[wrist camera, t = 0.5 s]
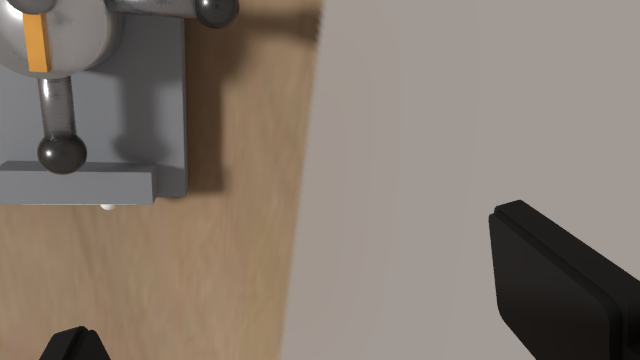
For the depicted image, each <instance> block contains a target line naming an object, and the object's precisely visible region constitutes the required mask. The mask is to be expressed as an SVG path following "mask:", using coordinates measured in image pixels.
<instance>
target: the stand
mask: <svg viewBox="0 0 640 360" xmlns="http://www.w3.org/2000/svg"><path fill="white" fill-rule="evenodd" d="M124 15H125V27H124V33H123V36H122V39H121V42H120V44H119V46H118V47H117V49H116V50H115V51H114V53H113V54H112V55H111V56H110V57H109V58H107V59H106V60H105V61H103V62H101V63H100V64H97V65H95V66H93V67H90V68H88V69H85V70H83V71H80V72H77V73H75V74H72V75H71V83H72V92H73V102H74V112H75V121H76V131H77V135H78V136H79V137H80V138H81V139H82V140H83V141H84V143H85V145H86V148H87V159H86V162H85V163H84V165H83V166H82V167H81V168H80V169H79V170H78V171H76V172H74V173H71V174H67V175H58V174H54V173H52V172H50V171H48V170H46V169H45V168H44V167H43V166H42V165H41V163H40V162H39V160H38V156H37V148H38V145H39V143H40V141H41V140H42V138H43V137H44V131H43V123H42V115H41V107H40V99H39V91H38V84H37V79H36V78H32V77H27V76H24V75H21V74H18V73H16V72H14V71H12V70H10V69H8V68H6V67H5V66H3V65H1V64H0V204H51V205H101V207H102V208H103V209H106V210H112V209H114V208H115V207H116V206H117V205H153V203H154V201H155V198H156V197H185V196H186V193H187V189H188V148H187V107H186V65H185V24H184V18H175V17H161V16H146V15H132V14H124Z"/></svg>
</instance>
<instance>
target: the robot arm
mask: <svg viewBox="0 0 640 360" xmlns="http://www.w3.org/2000/svg"><path fill="white" fill-rule="evenodd" d="M489 229H490V238H491V248H492V258H493V267H494V277H495V286H496V296H497V305H498V310H499V313H500V315H501V317H502V319H503V320H504V322H505V323H506V324H507V325H508V327H509V328H510V329H511V330H512V331H513V333H514V334H515V335H516V336H517V337H518V339H519V340H520V341H521V342H522V343H523V344H524V346H525V347H526V348H527V349H528V350H529V352H530V353H531V354H532V355H533V356H534V357H535V359H536V360H640V281H639V280H637V279H636V278H634V277H633V276H631V275H630V274H629V273H627V272H625V271H624V270H623V269H621V268H620V267H618V266H617V265H615V264H614V263H613V262H611V261H609V260H608V259H607V258H605V257H604V256H602V255H601V254H599V253H598V252H597V251H595V250H594V249H592V248H591V247H589V246H588V245H586V244H585V243H583V242H582V241H580V240H579V239H578V238H576V237H574V236H573V235H572V234H570V233H569V232H567V231H566V230H564V229H563V228H562V227H560V226H559V225H557V224H556V223H554V222H553V221H551V220H550V219H548V218H547V217H546V216H544V215H542V214H541V213H539V212H538V211H537V210H535V209H534V208H532V207H531V206H529V205H528V204H527V203H525V202H523V201H522V200H517V201H513V202H509V203H506V204H502V205H499V206H496V208H495V210H494V213H493V214H490V215H489ZM39 360H111V359H110V357H109V355H108V353H107V352H106V350H105V348H104V346H103V344H102V342H101V340H100V338H99V336H98V334H97V333H96V331H94V330H89V331H88V329H87V328H85V327H84V326H79V327H76V328H72V329H69V330H66V331H62V332H59V333H56V334H54V335H53V336H52V338H51V340H50V341H49V343H48V345H47V347H46V348H45V350H44V352H43V354H42V356H41V357H40V359H39Z"/></svg>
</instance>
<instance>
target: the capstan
mask: <svg viewBox="0 0 640 360" xmlns="http://www.w3.org/2000/svg"><path fill="white" fill-rule="evenodd" d="M238 12H239V0H0V64H1V65H3V66H5V67H6V68H8V69H10V70H12V71H14V72H16V73H18V74H21V75H24V76H27V77H32V78H36V79H37V84H38V91H39V99H40V107H41V115H42V123H43V131H44V137H43V138H42V140H41V141H40V143H39V145H38V148H37V156H38V160H39V162H40V163H41V165H42V166H43V167H44V168H45V169H46V170H48V171H50V172H52V173H54V174H58V175H67V174H71V173H74V172H76V171H78V170H79V169H80V168H81V167H82V166H83V165H84V163H85V162H86V159H87V148H86V145H85V143H84V141H83V140H82V139H81V138H80V137H79V136H78V135H77V131H76V121H75V112H74V102H73V92H72V83H71V75H72V74H75V73H77V72H80V71H83V70H85V69H88V68H90V67H93V66H95V65H97V64H100V63H101V62H103V61H105V60H106V59H107V58H109V57H110V56H111V55H112V54H113V53H114V51H115V50H116V49H117V47H118V46H119V44H120V42H121V39H122V36H123V33H124V27H125V15H124V14H132V15H146V16H161V17H175V18H190V19H198V20H199V21H200V22H201V23H202V24H204V25H205V26H207V27H209V28H213V29H222V28H225V27H227V26H229V25H231V24H232V23H233V22H234V21H235V19H236V17H237V15H238Z"/></svg>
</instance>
